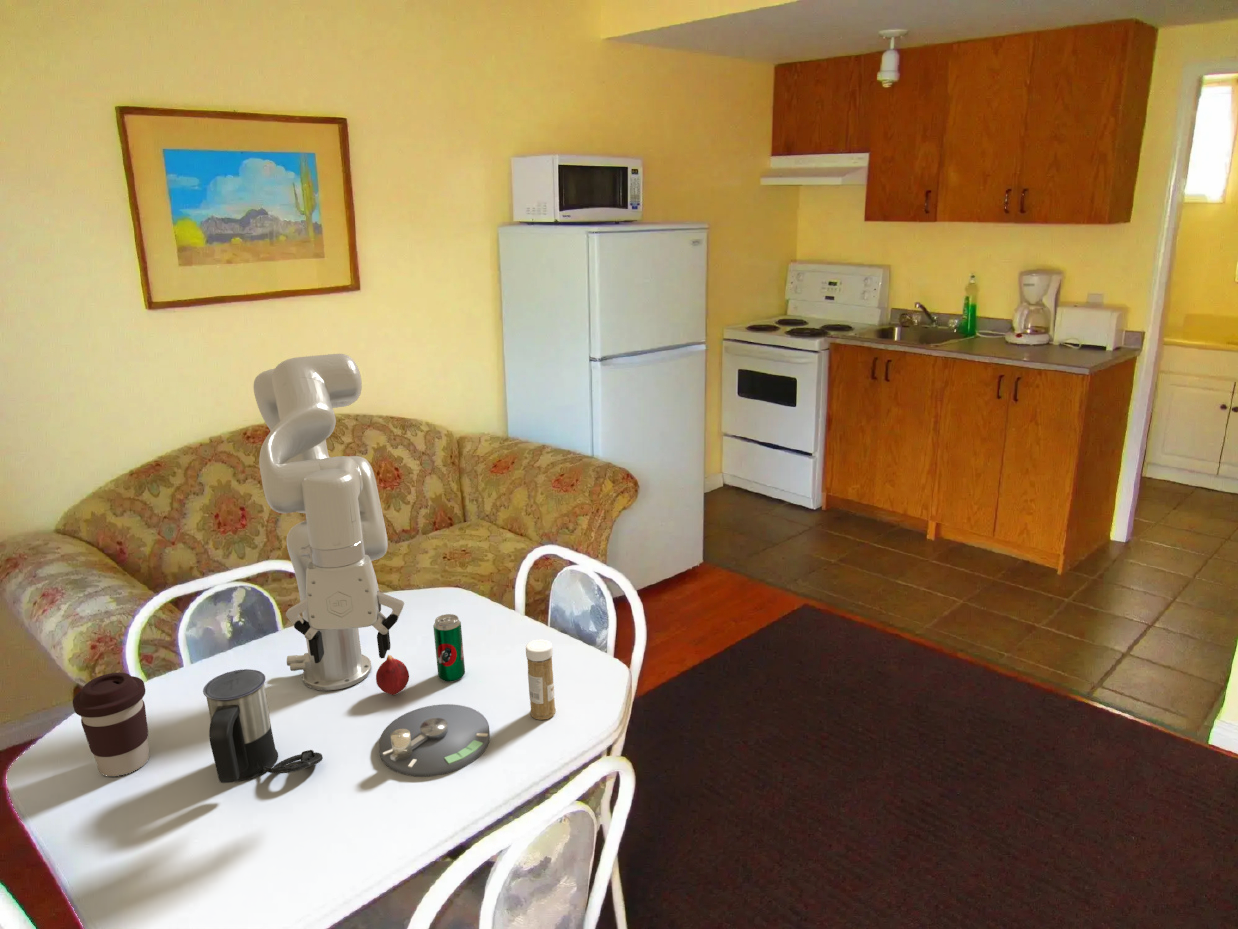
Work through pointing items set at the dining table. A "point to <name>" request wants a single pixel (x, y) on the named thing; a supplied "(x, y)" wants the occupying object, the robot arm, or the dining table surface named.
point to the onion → (392, 676)
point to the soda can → (449, 647)
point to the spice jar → (540, 679)
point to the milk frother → (245, 729)
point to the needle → (403, 742)
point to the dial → (438, 741)
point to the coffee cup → (114, 722)
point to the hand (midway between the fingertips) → (351, 656)
